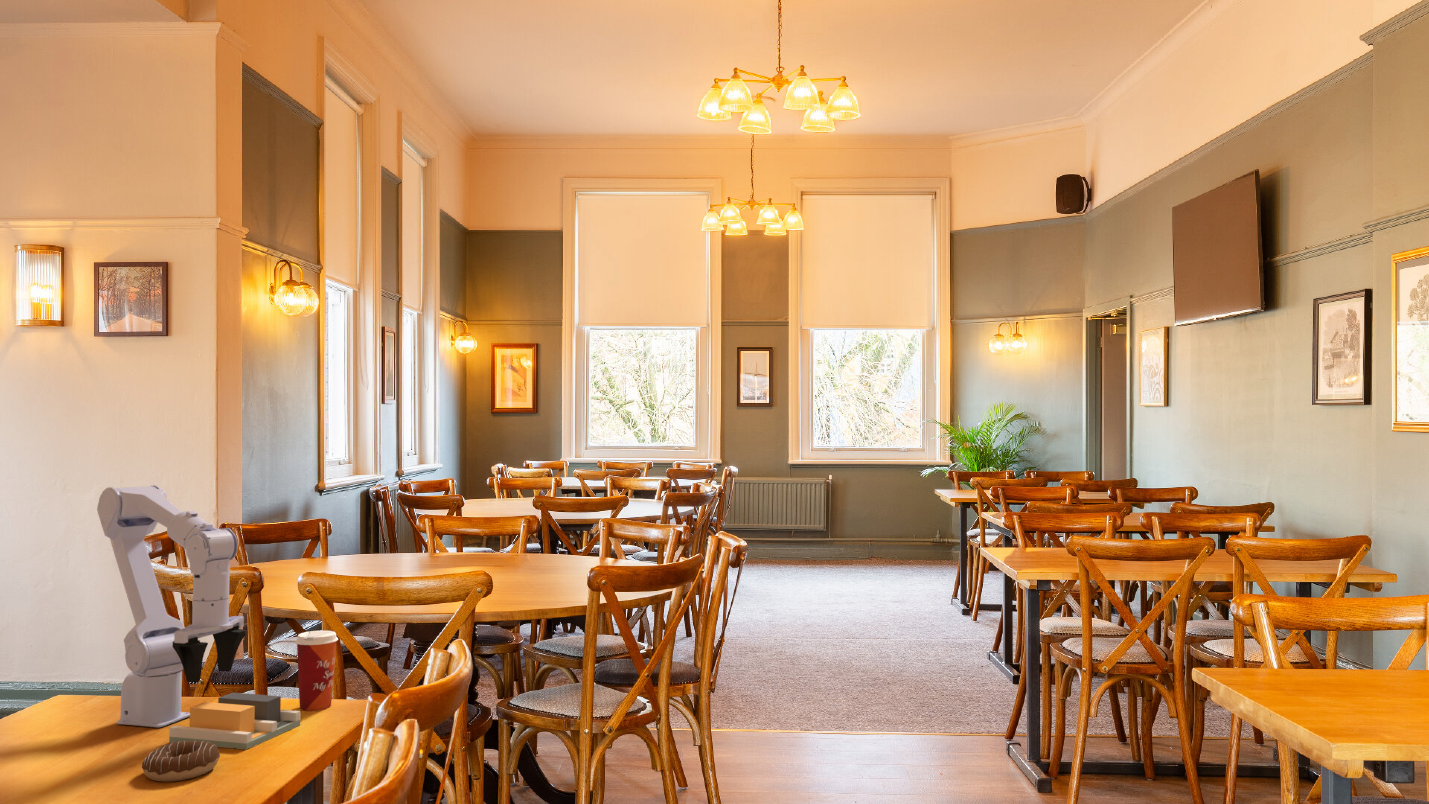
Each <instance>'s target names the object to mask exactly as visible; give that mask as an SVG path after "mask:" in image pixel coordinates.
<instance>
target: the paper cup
mask: <svg viewBox="0 0 1429 804" xmlns="http://www.w3.org/2000/svg"><path fill="white" fill-rule="evenodd" d="M337 641H339V638H338V637H337V633H336V631H333V630H326V629H325V630H311V631H305V632H301V633H298V635H297V638H296V640H295V644H296V649H297V650H296V651H297V675H298V678H297V679H298V680H297V681H298V697H299V709H300V710H301V711H305V712H314V711H323V710H326V709H329V708H331V706H332V702H333V701H332V699H333V690H334V689H333V687H334V678H335V677H334V676H335V662H336V652H337V650H336V649H337Z"/></svg>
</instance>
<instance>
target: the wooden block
mask: <svg viewBox="0 0 1429 804" xmlns="http://www.w3.org/2000/svg"><path fill="white" fill-rule="evenodd" d="M189 713H190V716H189V726H188V727H196V728H208V729H219V730H230V731H242V732H252V733H254V719H255V706H249V705H237V704H224V703H218V702H210V701H209V702H208V701H204V702H201V703H199V704H197V705H193V706H190V707H189Z"/></svg>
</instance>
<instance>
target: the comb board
mask: <svg viewBox="0 0 1429 804" xmlns="http://www.w3.org/2000/svg"><path fill="white" fill-rule="evenodd" d="M299 726H301V711H300V710H289V709H280V722H278V723H277V721H266V720H255V719H254V733H252V732H242V731H230V730H219V729H208V728H196V727H189V726H185V725H182V726H181V725H173V726H170V727H169V729H168V731H169V733H168V734H169V737H168V739H169V740H168V744H170V743H173V742H179V741H204V742H210V743H212V744H215V745H216V746H217V748H223V749H224V748H225V749H234V748H236V749H235V750H249V749H252V748H253V747H255V746H257V745H260V744H262V743H264V742H266V740H267V741H269V740H271V739H273V738H275V737H278V736H280V735H282V734H284V733H286V732H288V731H290V730H293V729H295V728H297V727H299ZM248 748H249V749H248Z"/></svg>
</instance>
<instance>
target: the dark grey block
mask: <svg viewBox="0 0 1429 804" xmlns="http://www.w3.org/2000/svg"><path fill="white" fill-rule="evenodd" d="M281 699H282V698H281V696H280V695H269V694H268V695H267V694H255V693H242V692H241V693H239V692H230V693H228V694H225V695H223V696H219V697H218V699H217V701H218V702H217V703H224V704H237V705H249V706H255V720H266V721H277V723H278V722H280V710H281V706H282V705H281V701H282V700H281Z"/></svg>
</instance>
